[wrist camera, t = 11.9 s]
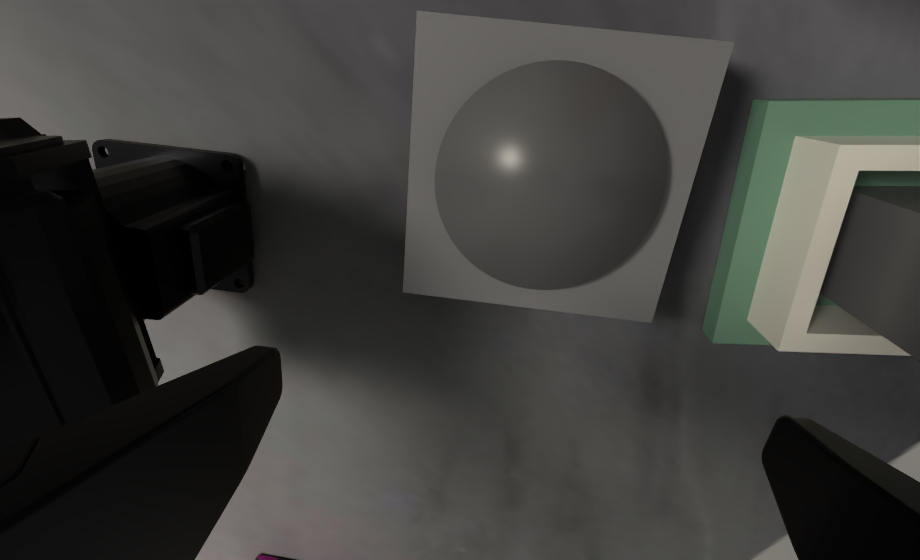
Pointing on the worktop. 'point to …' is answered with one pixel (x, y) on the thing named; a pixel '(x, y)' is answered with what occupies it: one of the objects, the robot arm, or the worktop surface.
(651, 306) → the grey domed square block
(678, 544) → the worktop surface
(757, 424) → the worktop surface
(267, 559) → the candy bar box
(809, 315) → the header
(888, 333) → the dark grey tall block
